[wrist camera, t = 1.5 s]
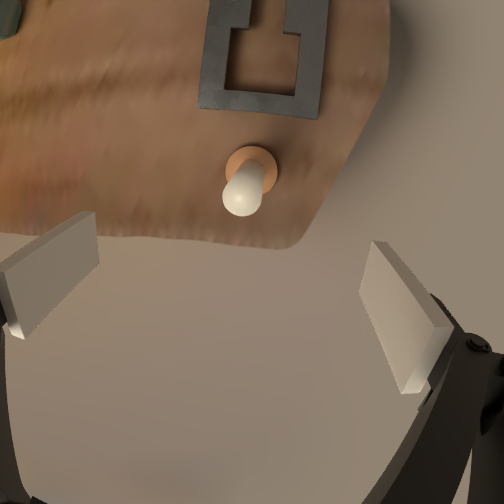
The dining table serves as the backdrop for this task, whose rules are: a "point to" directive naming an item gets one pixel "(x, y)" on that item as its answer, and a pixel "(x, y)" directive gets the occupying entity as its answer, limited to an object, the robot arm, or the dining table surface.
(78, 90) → the dining table surface
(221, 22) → the keyhole plate
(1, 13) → the flower pot
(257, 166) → the peg
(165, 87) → the dining table surface
